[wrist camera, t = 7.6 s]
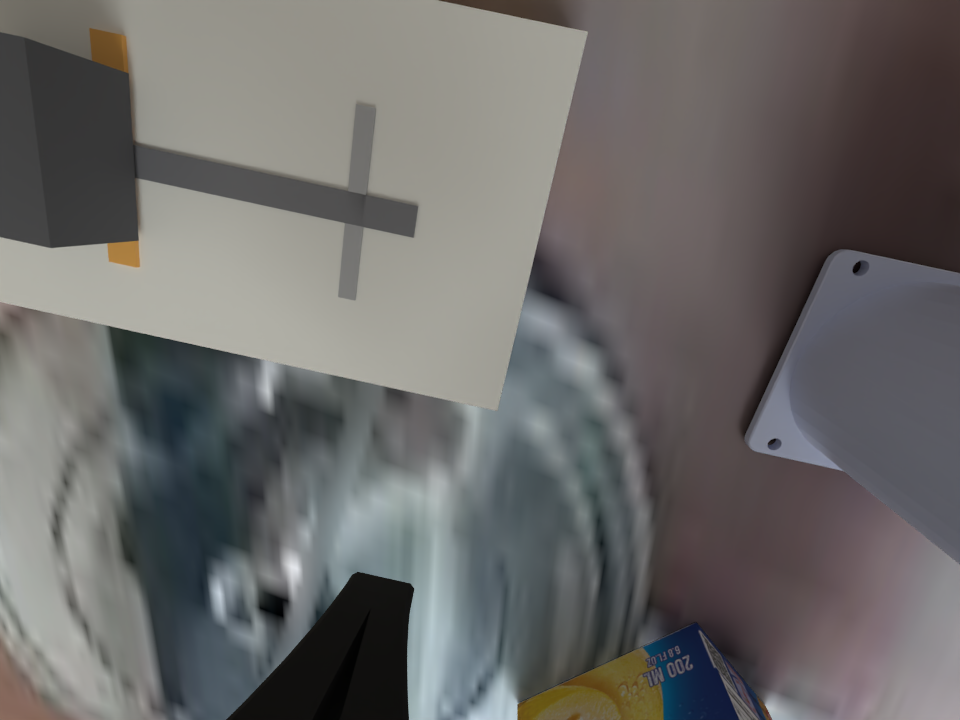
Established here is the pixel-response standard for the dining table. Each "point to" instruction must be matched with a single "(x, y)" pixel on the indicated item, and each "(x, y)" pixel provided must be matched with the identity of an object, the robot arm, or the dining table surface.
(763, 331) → the dining table surface
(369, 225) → the control panel
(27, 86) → the block
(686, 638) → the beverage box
